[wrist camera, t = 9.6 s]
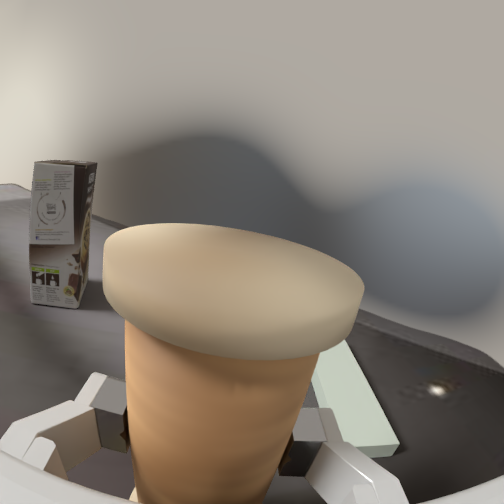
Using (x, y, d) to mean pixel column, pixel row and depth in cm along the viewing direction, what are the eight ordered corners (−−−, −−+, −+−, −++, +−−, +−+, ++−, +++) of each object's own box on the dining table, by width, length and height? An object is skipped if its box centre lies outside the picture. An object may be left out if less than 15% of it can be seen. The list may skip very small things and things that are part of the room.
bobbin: (256, 481, 13) (327, 245, 10) (261, 575, 8) (411, 330, 5) (142, 464, 13) (147, 214, 10) (118, 556, 7) (48, 272, 4)
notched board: (338, 346, 37) (349, 313, 36) (391, 456, 20) (417, 415, 19) (171, 320, 36) (175, 284, 35) (124, 433, 18) (121, 387, 17)
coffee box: (79, 310, 33) (87, 164, 29) (29, 304, 30) (32, 160, 26) (89, 280, 41) (99, 161, 37) (47, 275, 39) (54, 157, 35)
